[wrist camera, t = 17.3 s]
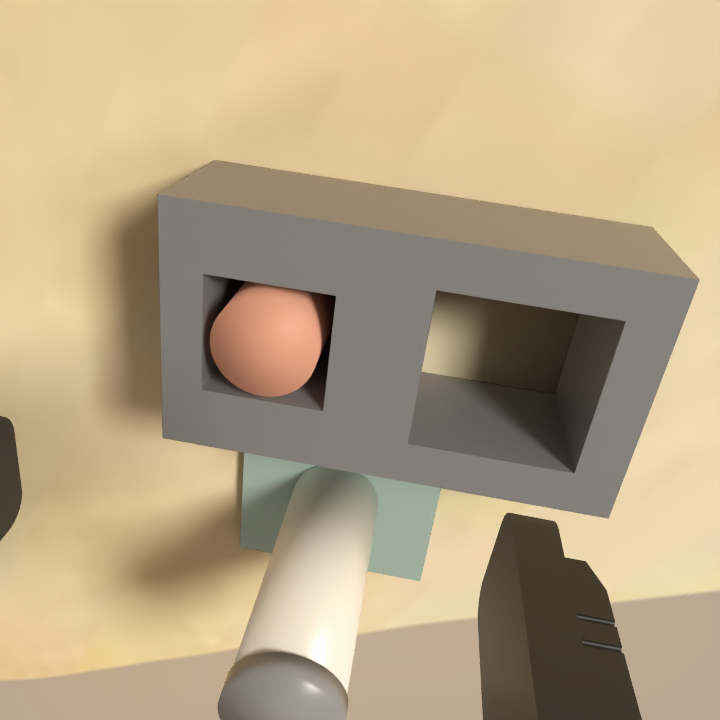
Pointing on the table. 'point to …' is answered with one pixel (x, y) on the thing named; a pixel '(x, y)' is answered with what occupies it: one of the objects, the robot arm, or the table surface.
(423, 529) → the mat
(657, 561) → the table surface
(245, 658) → the cartridge
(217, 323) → the orange egg
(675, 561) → the table surface
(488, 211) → the housing
